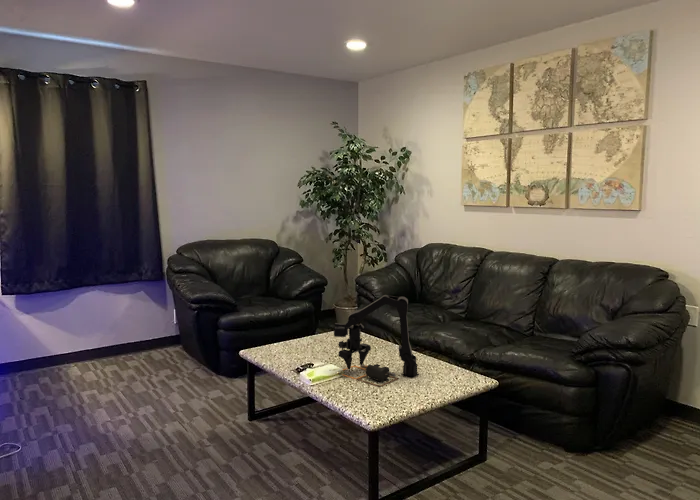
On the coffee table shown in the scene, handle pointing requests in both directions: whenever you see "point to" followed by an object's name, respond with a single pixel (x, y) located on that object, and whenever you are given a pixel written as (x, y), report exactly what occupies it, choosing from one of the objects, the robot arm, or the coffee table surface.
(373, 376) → the end cap
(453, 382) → the coffee table surface
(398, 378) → the walnut seat frame
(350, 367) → the orange marked frame
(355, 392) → the coffee table surface
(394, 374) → the metal rail
